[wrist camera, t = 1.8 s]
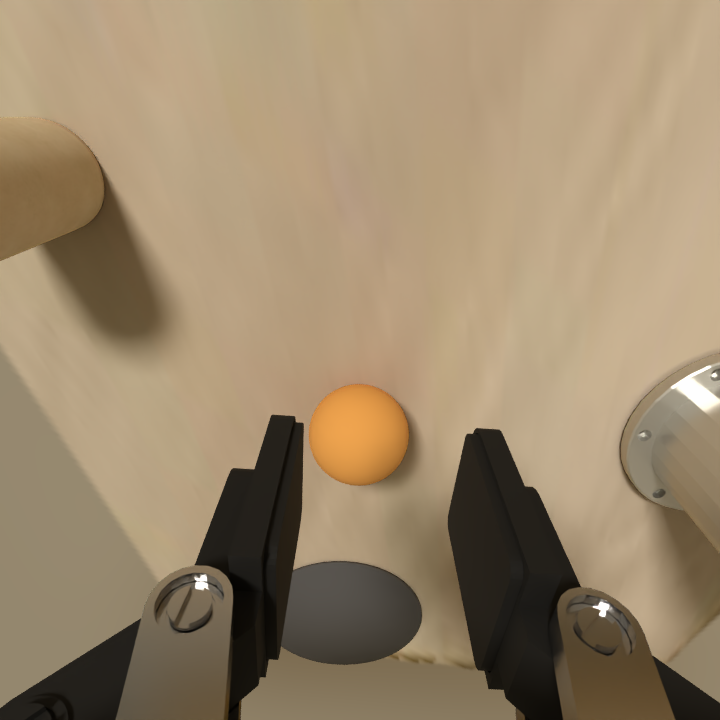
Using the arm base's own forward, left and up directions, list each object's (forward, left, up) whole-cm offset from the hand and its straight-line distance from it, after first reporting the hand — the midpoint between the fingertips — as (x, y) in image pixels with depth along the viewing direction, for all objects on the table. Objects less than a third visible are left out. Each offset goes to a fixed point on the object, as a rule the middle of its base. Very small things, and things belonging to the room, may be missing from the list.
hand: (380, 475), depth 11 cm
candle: (+17, -4, -17) cm, 25 cm away
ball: (0, +9, -14) cm, 17 cm away
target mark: (0, +31, -17) cm, 36 cm away
